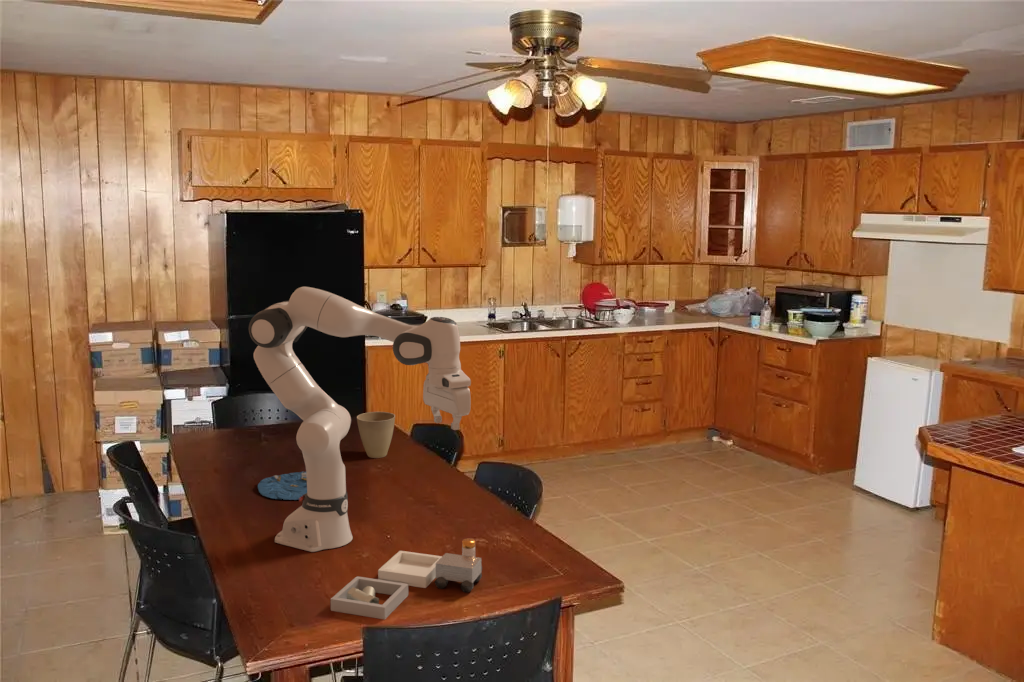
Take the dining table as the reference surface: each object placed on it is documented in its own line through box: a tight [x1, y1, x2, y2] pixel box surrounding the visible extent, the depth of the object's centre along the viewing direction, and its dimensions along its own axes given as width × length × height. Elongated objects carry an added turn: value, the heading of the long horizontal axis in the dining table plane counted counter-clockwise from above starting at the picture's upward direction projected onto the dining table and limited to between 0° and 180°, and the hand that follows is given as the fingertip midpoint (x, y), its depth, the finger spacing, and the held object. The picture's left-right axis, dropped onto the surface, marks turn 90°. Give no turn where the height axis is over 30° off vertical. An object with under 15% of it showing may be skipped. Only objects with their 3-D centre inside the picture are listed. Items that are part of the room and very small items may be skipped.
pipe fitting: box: [347, 586, 380, 604], centre depth 207 cm, size 8×4×7 cm
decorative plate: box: [257, 471, 307, 501], centre depth 294 cm, size 30×30×5 cm
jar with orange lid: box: [461, 537, 476, 557], centre depth 225 cm, size 4×4×9 cm
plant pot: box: [356, 411, 396, 459], centre depth 330 cm, size 15×15×16 cm
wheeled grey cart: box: [434, 552, 483, 594], centre depth 221 cm, size 10×14×6 cm
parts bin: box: [330, 576, 409, 620], centre depth 208 cm, size 14×13×3 cm
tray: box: [377, 550, 443, 589], centre depth 224 cm, size 13×13×3 cm
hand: (446, 425), depth 231 cm, fingers open, 8 cm apart
